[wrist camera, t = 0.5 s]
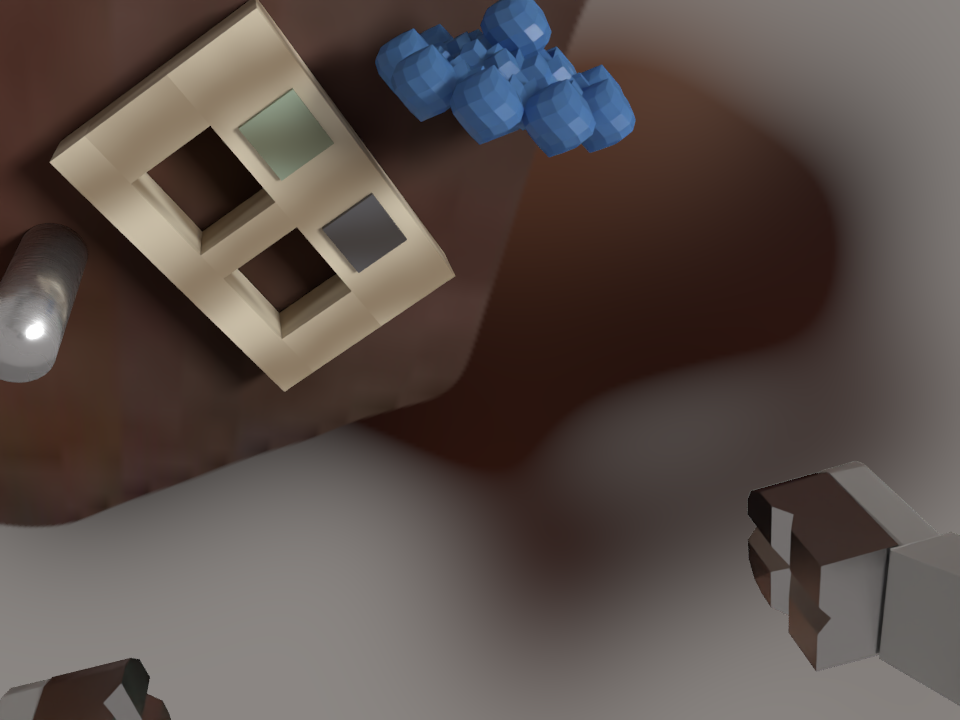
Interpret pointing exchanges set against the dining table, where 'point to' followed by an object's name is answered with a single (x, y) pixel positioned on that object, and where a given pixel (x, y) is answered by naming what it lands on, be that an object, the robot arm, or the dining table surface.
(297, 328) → the socket block
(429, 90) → the grapes
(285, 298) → the dining table surface
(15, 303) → the plug
